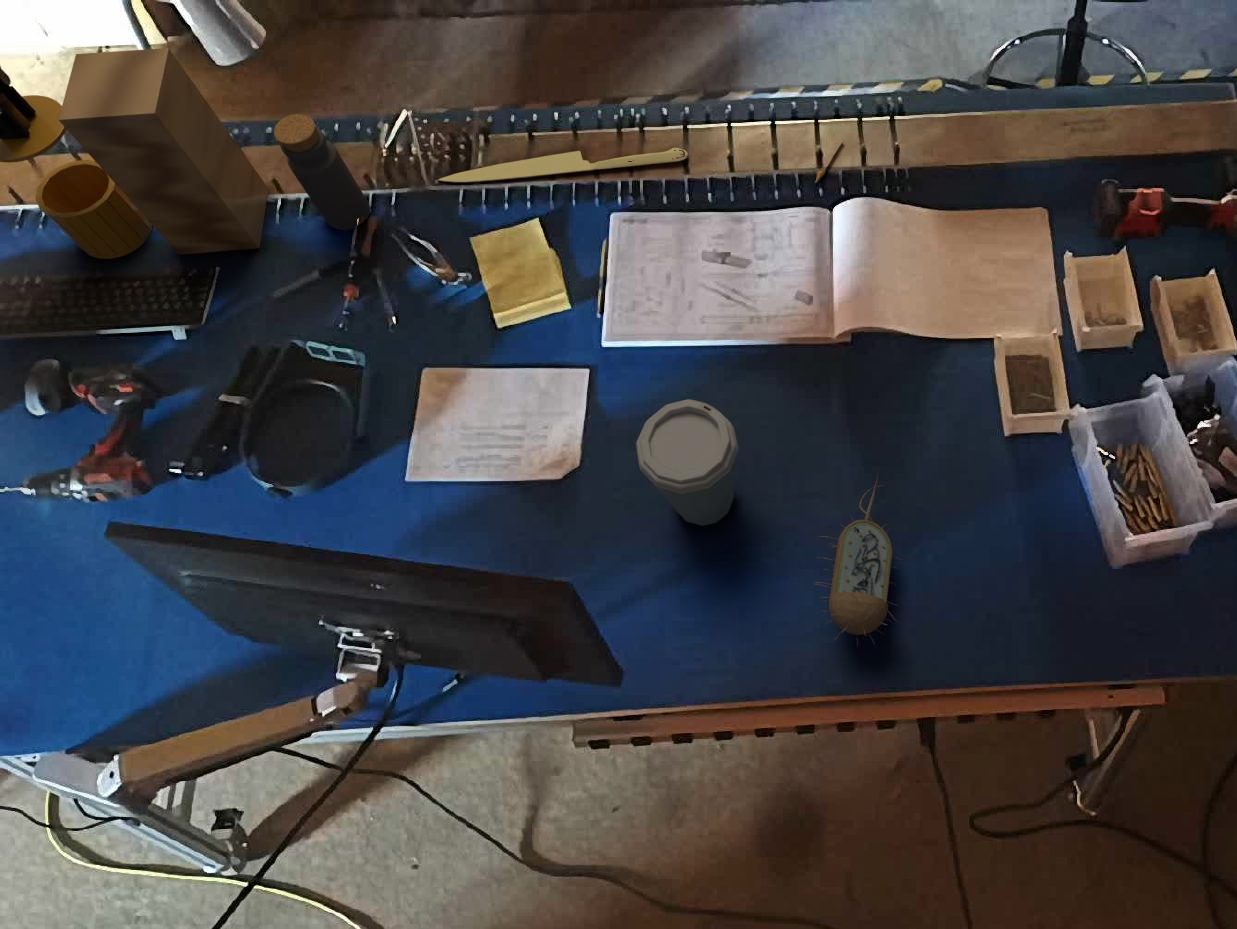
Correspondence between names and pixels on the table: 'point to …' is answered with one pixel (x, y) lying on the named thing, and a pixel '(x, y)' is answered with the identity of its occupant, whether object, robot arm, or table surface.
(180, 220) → the stand
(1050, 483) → the table surface
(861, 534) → the bacterium
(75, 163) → the wooden cup
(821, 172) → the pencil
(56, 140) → the lid
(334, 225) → the bottle
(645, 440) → the disposable coffee cup
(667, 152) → the knife
